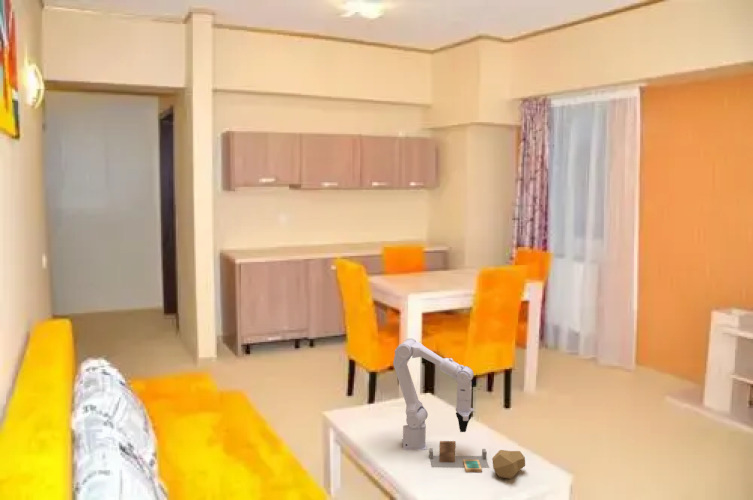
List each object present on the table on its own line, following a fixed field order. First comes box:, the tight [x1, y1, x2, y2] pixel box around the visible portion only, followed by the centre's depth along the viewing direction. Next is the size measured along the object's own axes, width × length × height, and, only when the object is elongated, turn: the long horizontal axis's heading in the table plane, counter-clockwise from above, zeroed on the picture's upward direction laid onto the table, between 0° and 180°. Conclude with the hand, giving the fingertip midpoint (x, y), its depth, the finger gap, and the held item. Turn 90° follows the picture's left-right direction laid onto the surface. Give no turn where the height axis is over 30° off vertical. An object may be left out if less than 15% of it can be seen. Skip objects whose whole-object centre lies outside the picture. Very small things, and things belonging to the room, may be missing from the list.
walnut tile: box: [438, 440, 457, 462], centre depth 251 cm, size 6×1×8 cm, turn 90°
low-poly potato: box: [492, 449, 526, 480], centre depth 240 cm, size 15×11×12 cm
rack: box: [428, 447, 490, 469], centre depth 251 cm, size 22×10×4 cm, turn 90°
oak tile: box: [463, 459, 483, 473], centre depth 246 cm, size 6×1×8 cm
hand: (462, 431), depth 257 cm, fingers closed
